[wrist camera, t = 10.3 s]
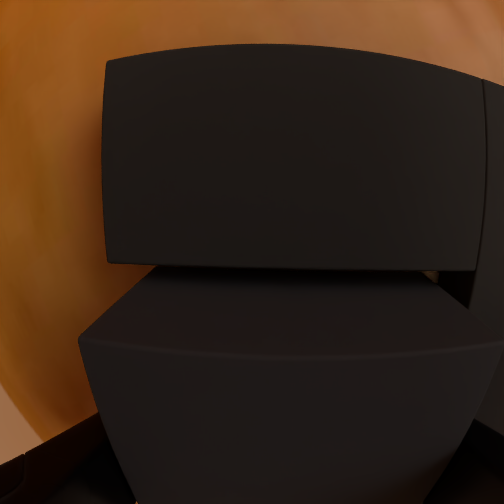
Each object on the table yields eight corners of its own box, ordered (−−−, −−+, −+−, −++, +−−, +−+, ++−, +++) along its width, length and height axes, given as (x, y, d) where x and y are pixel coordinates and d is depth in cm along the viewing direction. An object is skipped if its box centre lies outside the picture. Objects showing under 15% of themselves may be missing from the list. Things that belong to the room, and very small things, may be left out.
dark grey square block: (181, 448, 9) (154, 534, 5) (155, 265, 7) (74, 336, 4) (373, 451, 8) (396, 536, 5) (421, 271, 7) (507, 340, 3)
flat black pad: (185, 508, 10) (178, 535, 8) (135, 78, 6) (104, 60, 5) (553, 446, 9) (564, 460, 7) (637, 175, 5) (657, 179, 4)
